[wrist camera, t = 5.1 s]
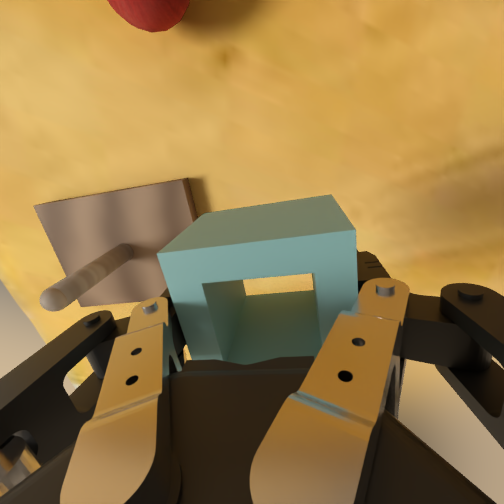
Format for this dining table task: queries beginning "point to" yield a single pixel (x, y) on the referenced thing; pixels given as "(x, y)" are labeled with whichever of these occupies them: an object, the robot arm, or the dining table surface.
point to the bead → (260, 266)
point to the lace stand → (114, 242)
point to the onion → (151, 13)
